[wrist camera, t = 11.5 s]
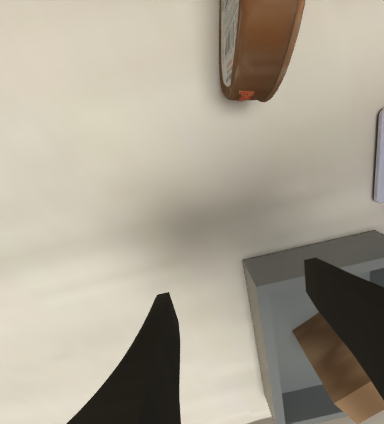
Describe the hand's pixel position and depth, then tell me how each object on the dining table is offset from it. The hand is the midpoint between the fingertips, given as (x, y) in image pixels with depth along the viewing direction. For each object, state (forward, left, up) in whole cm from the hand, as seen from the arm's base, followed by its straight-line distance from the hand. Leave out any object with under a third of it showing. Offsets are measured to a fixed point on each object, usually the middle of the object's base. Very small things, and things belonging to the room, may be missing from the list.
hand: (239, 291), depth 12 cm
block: (-9, +15, -8) cm, 19 cm away
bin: (-9, +15, -9) cm, 19 cm away
